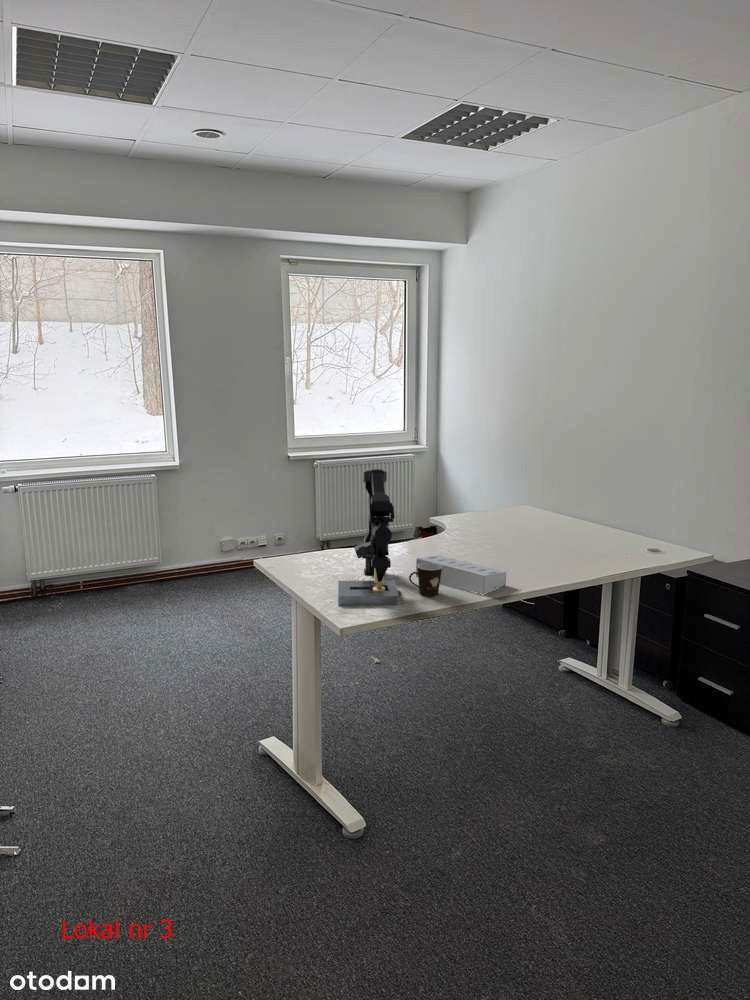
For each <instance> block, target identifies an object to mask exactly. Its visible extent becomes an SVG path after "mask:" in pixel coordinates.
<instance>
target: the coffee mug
mask: <svg viewBox="0 0 750 1000" xmlns="http://www.w3.org/2000/svg"><path fill="white" fill-rule="evenodd" d="M417 569H418V572H416V571H412V572H411V573H410V575H409V576H408V580H409V582H410V583H411V584H412V585H414V586H416V587H417V588H418V590H419V595H420V596H422V597H425V598H434V597H437V596H438V595H439V590H440V584H441V583H440V578H441V572H442V566H441V565H439V564H436V563H421V564H418V565H417ZM416 574H417V575H418V577H417V578H418V584H416V583H415V582H413V581H412V576H413V575H416Z"/></svg>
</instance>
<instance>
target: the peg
mask: <svg viewBox="0 0 750 1000" xmlns="http://www.w3.org/2000/svg"><path fill="white" fill-rule="evenodd" d="M373 578H374V579H373V581H375V583H377V586H376V587H373V590H372V591H386V590H385V587H382V583H384V581H385V576H384V577H383V579H382V581H381V582H378V579H377V573H376V568H374V575H373Z"/></svg>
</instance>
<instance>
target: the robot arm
mask: <svg viewBox="0 0 750 1000" xmlns="http://www.w3.org/2000/svg"><path fill="white" fill-rule="evenodd" d="M387 473H388V472H387V471H384V469H382V468H381V469H379V468H378V469H377V468H373V469H370V470H366V471H364V472H363V474H362V483H363V484H364V488H365V490H366V492H367V493H368V518H367V519H368V523H367V524H368V525H367V526H368V527H367V528H368V529H367V530H368V531H367V532H366V533H365V536H364V537H363V542H362V543H361V544H358V545H355V546H354V552H355V555H356V558H358V559H361V558H362V560H363V559H365V563H364V564H365V567H364V569H363V573H364V575H365V576H374V568H376V573H377V579H378V582H381V581H382V579H383V577H384V578H385V575H386V572H387V570H388V569H390V568H391V567H392V566H391V563H392V562H391V561H392V560H391V558H390V557H389V556H390V554H389V553H390V552H389V545H390V541H391V540H392V537H393V533H392V530H391V528H390V526H389V523H393V522H394V520H395V508H394V507H395V506H394V505H393V502H391V499H390V496H389V495H387V494H386V491H385V484H386V483H387V481H388V477H387V476H388V474H387Z"/></svg>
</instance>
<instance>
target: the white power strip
mask: <svg viewBox="0 0 750 1000" xmlns="http://www.w3.org/2000/svg"><path fill="white" fill-rule="evenodd" d="M415 561H416V565H415V567H416V569H415V572H418V569H417V565H418V564H421V563H436V564H439V565H441V566H442V572H441V578H440V584H441V585H444V586H448V587H451V586H452V588H455V589H458V588H459V589H460V590H462V589H464V590H463V591H465V590H468V591H467V592H469V591H473V592H477V593H481V594H485V593H487V592H490V591H492V590H494V589H497V588H499V587H502V586H504V585H506V584H507V571H503V570H500V569H495V568H491V567H489V566H483V565H480V564H475V563H472V562H467V561H464V560H459V559H455V558H451V557H448V556H443V555H440V554H439V555H433V556H425V557H424V556H423V557H417V558H416V560H415ZM415 576H416V577H417V578H418V575H417V574H415ZM504 587H505V586H504ZM502 588H503V587H502ZM499 589H500V588H499ZM497 590H498V589H497ZM494 591H495V590H494ZM473 592H472V593H473ZM490 593H491V592H490Z"/></svg>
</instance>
